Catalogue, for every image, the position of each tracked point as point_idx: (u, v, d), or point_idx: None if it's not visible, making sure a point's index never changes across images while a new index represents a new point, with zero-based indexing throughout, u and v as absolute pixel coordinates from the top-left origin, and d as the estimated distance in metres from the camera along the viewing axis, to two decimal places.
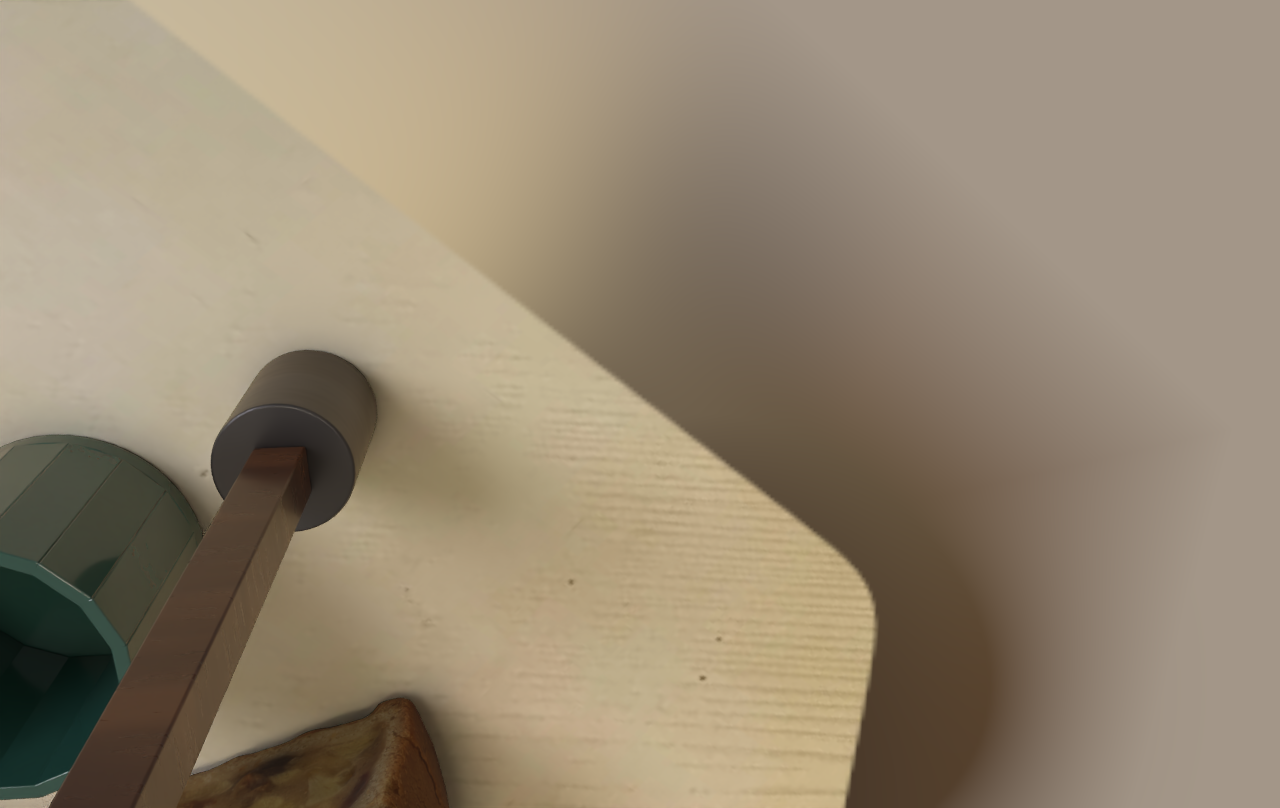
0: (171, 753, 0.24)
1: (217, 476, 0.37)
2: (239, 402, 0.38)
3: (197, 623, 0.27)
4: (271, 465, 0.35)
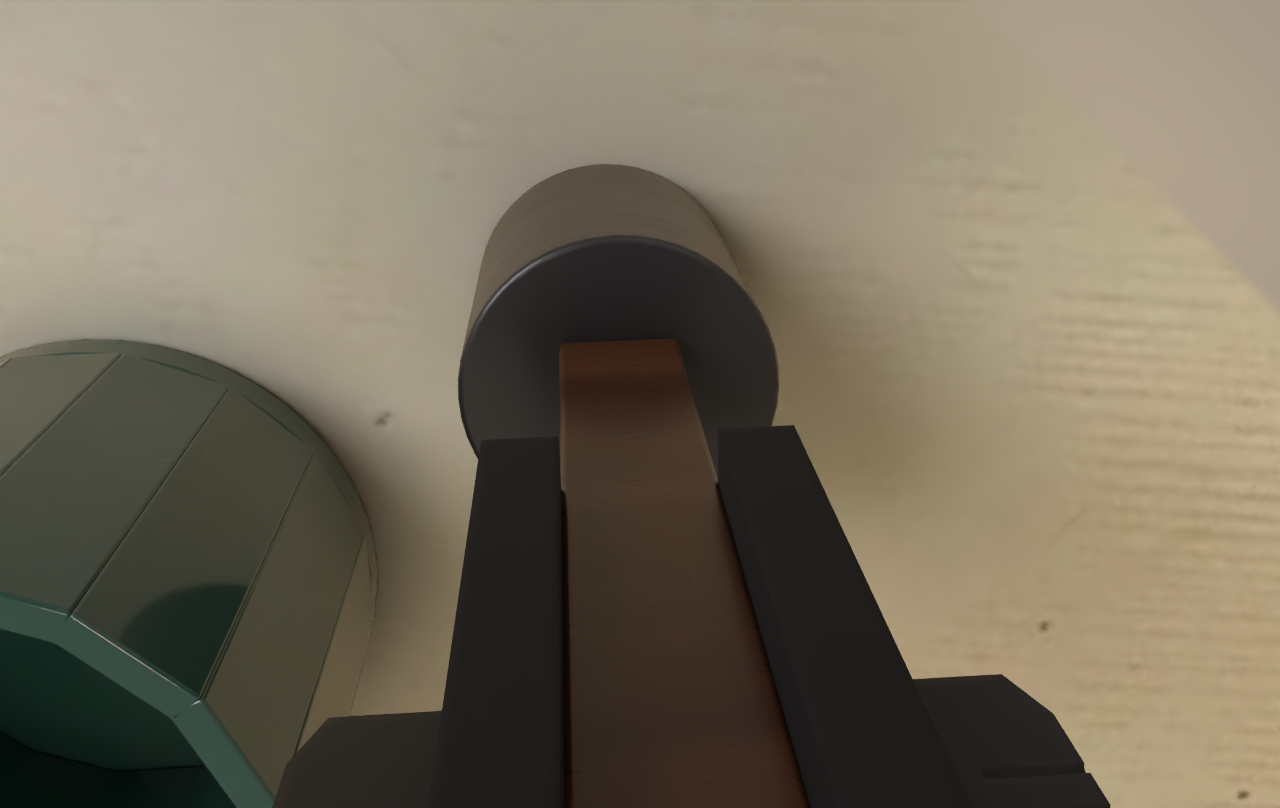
0: None
1: (472, 408, 0.16)
2: (499, 253, 0.18)
3: None
4: (628, 375, 0.15)
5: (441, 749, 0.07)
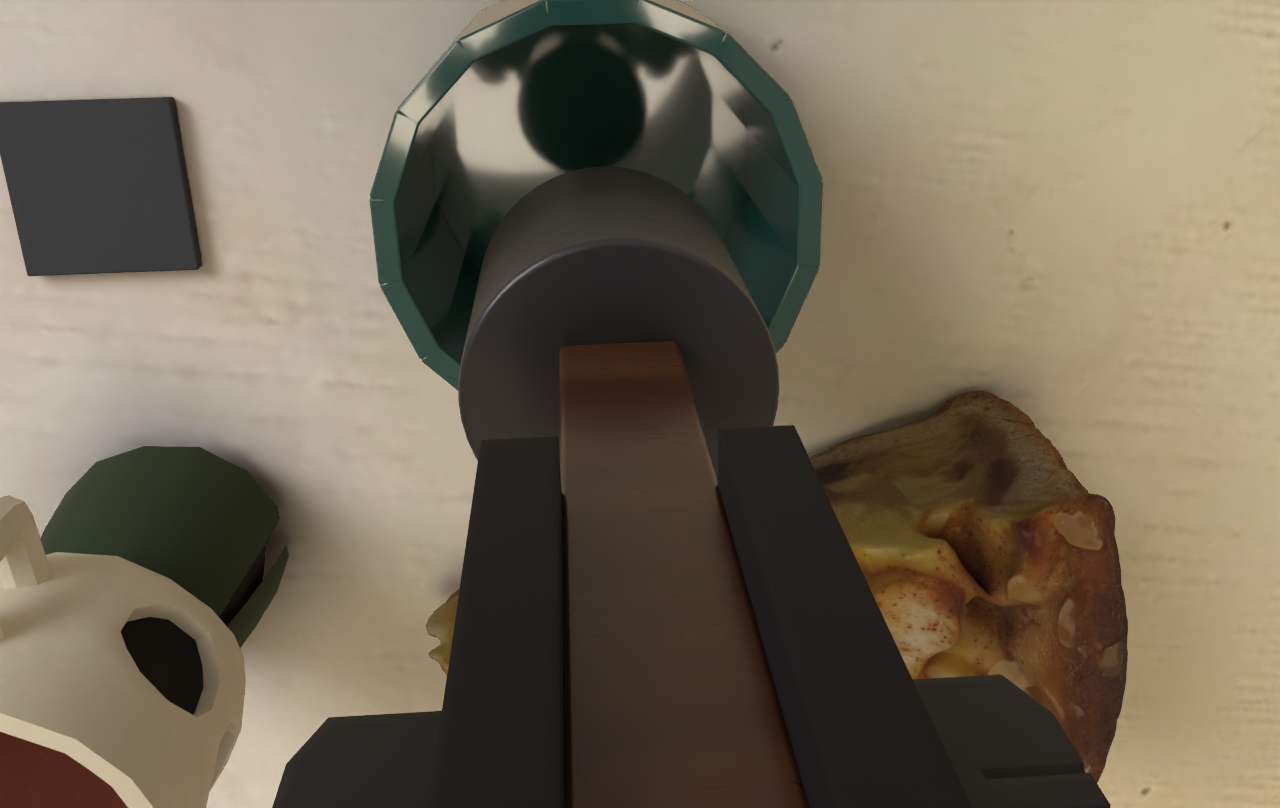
0: None
1: (472, 411, 0.16)
2: (500, 255, 0.18)
3: None
4: (628, 377, 0.15)
5: (441, 749, 0.07)
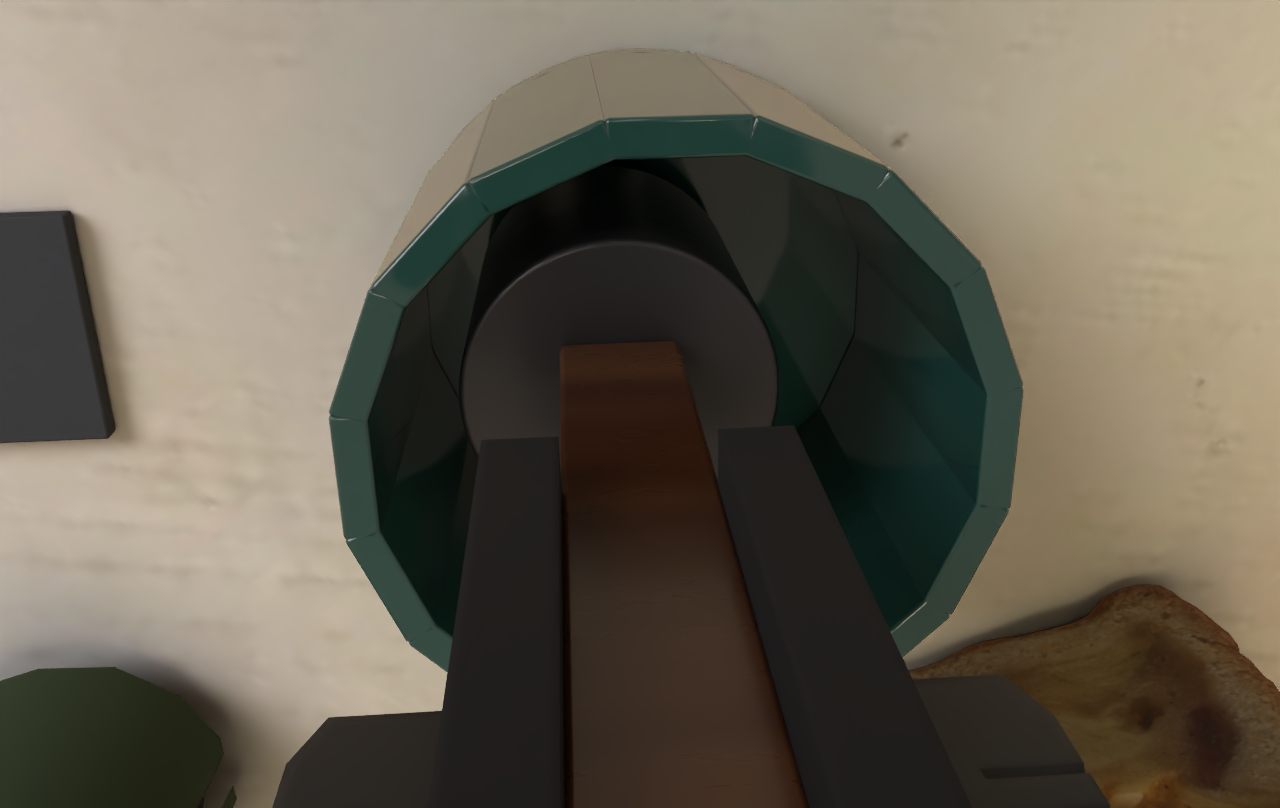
0: None
1: (472, 410, 0.16)
2: (500, 255, 0.18)
3: None
4: (629, 377, 0.15)
5: (442, 748, 0.07)
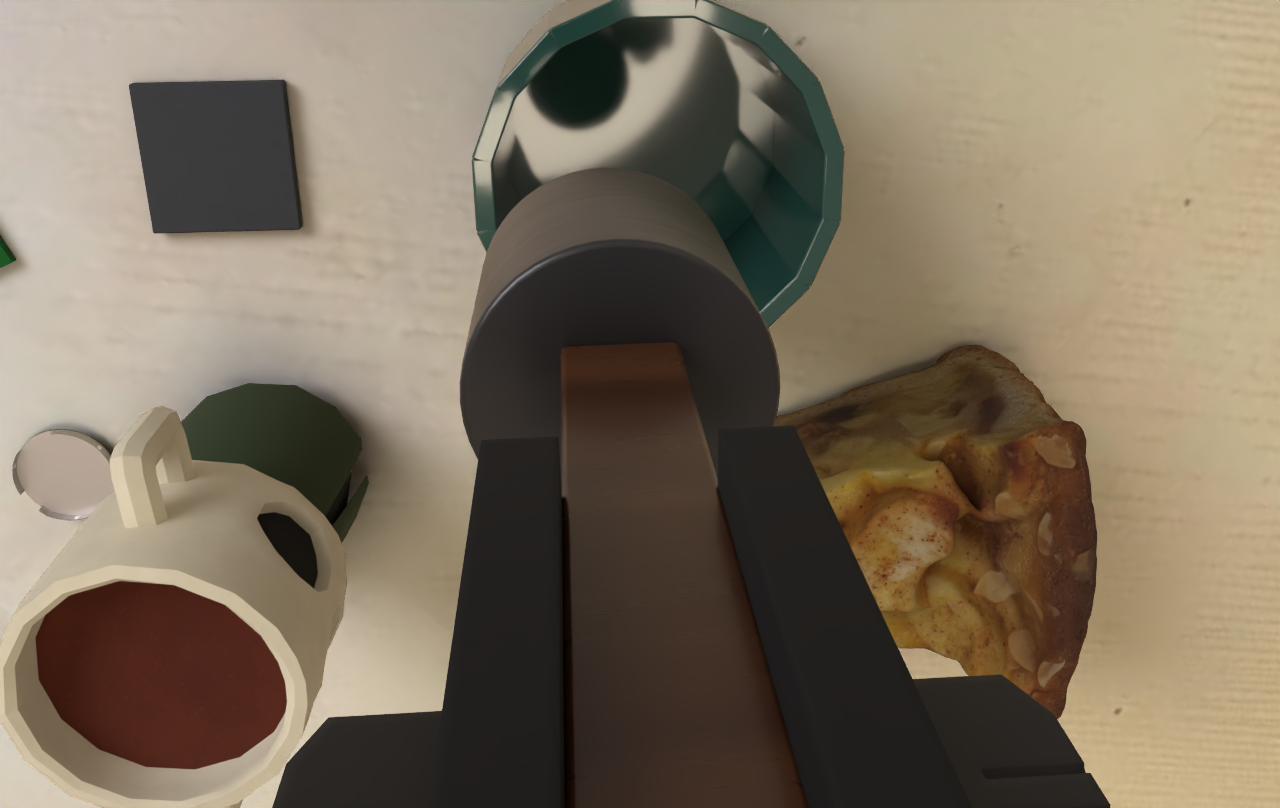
0: None
1: (473, 411, 0.16)
2: (501, 256, 0.18)
3: None
4: (629, 378, 0.15)
5: (442, 749, 0.07)
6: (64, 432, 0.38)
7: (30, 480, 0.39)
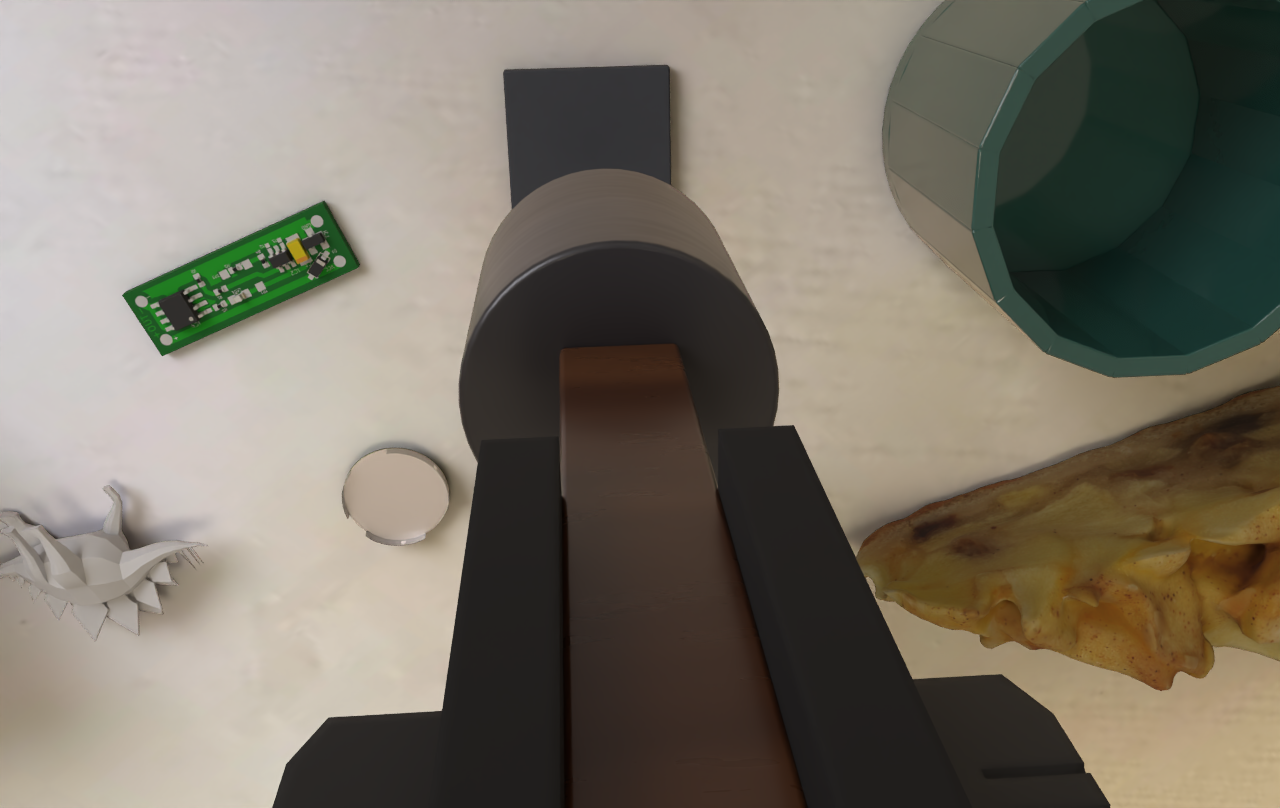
0: None
1: (472, 413, 0.16)
2: (500, 257, 0.18)
3: None
4: (628, 380, 0.15)
5: (441, 749, 0.07)
6: (400, 451, 0.35)
7: (356, 502, 0.36)
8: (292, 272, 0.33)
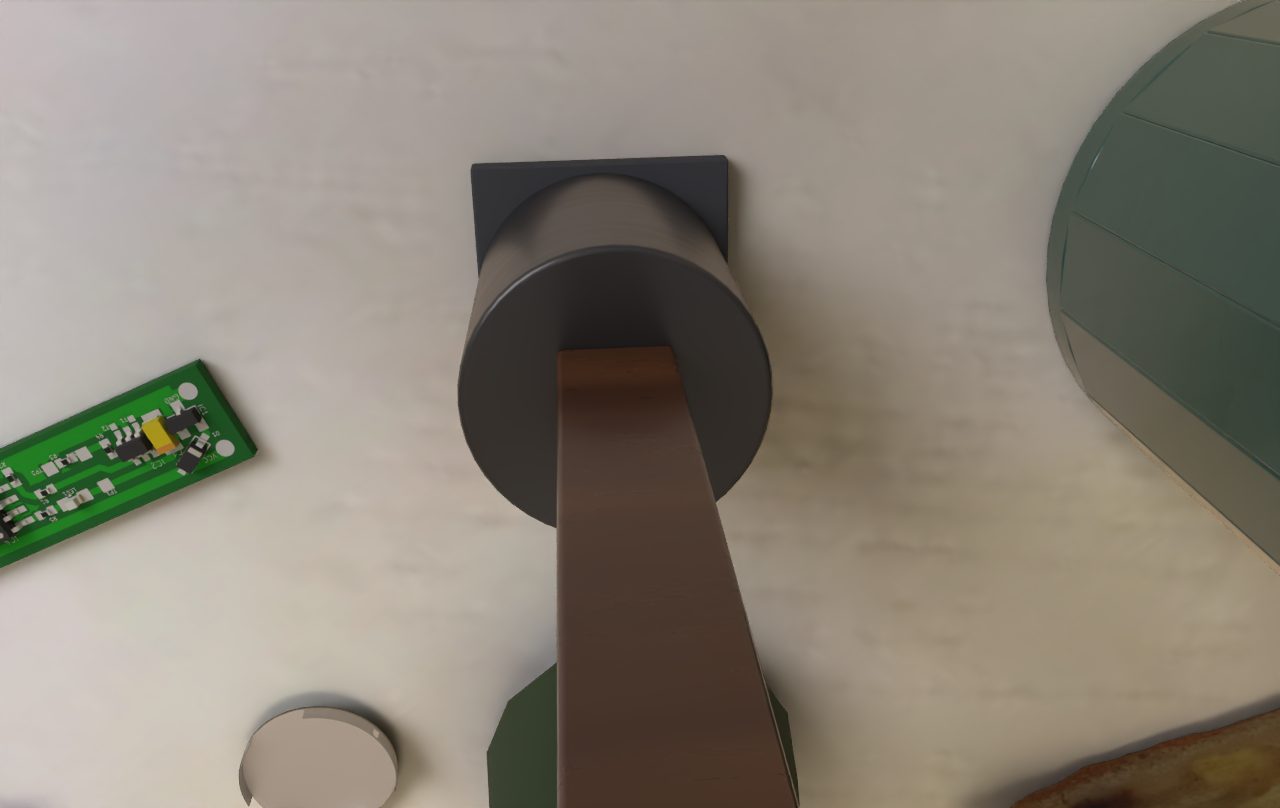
0: None
1: (471, 414, 0.17)
2: (498, 261, 0.18)
3: None
4: (624, 382, 0.15)
5: None
6: (323, 714, 0.24)
7: (262, 780, 0.25)
8: (153, 463, 0.22)
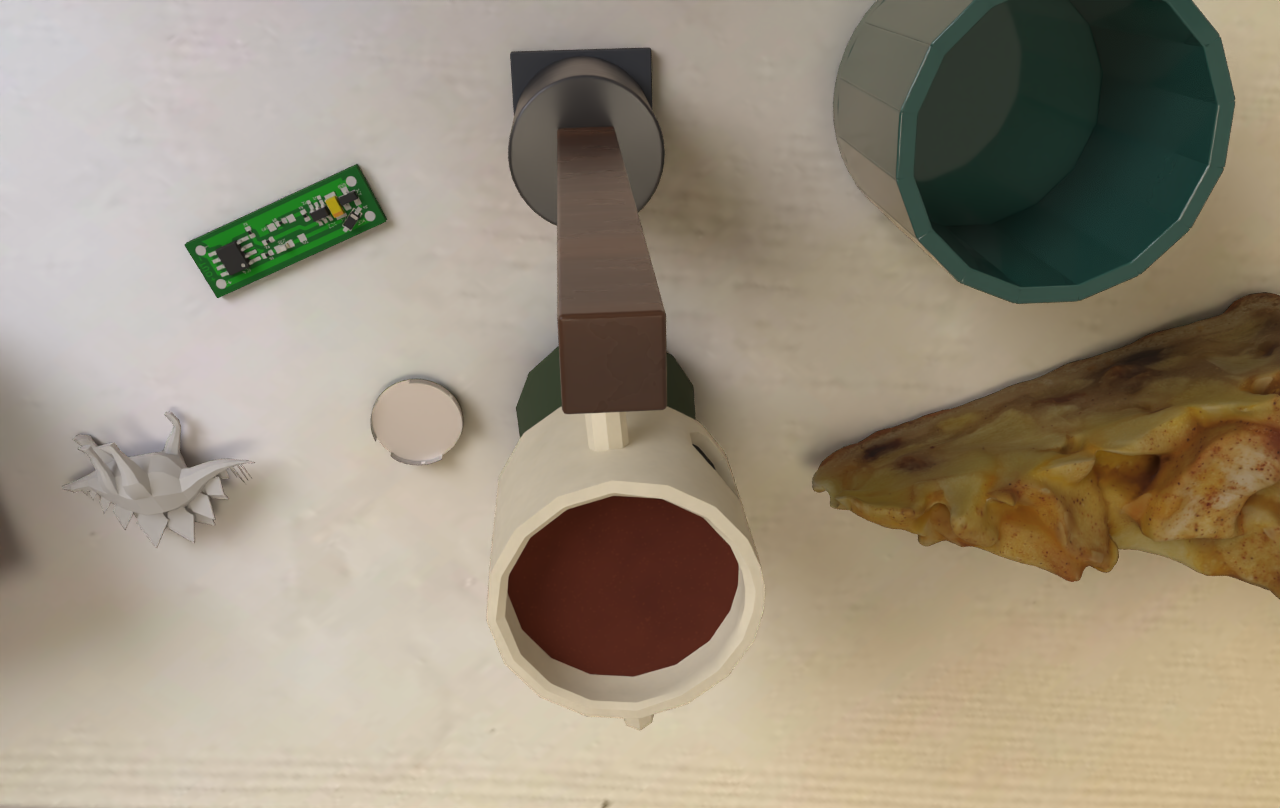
0: None
1: (515, 162, 0.33)
2: (527, 93, 0.35)
3: (610, 206, 0.24)
4: (588, 135, 0.32)
5: None
6: (420, 382, 0.41)
7: (383, 427, 0.42)
8: (329, 224, 0.39)
